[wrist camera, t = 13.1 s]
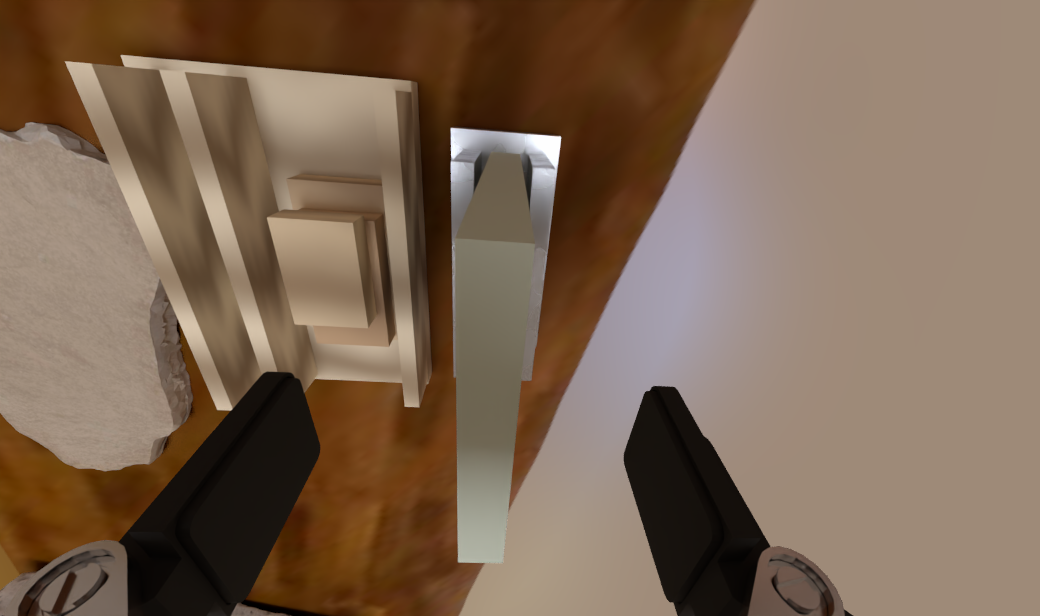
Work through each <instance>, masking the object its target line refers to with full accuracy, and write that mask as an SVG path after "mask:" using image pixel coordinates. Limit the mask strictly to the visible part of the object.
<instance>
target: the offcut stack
mask: <svg viewBox="0 0 1040 616" xmlns="http://www.w3.org/2000/svg"><path fill="white" fill-rule="evenodd" d="M286 181H287V185H288V190H289V194H290V199H291V203H292V208H293V210H288V209H283V210H281V211H279V212H277V213H275V214H272V215H270V216H268V217H267V220H268V224H269V228H270V232H271V236H272V239H273V243H274V247H275V251H276V255H277V259H278V262H279V266H280V270H281V274H282V278H283V282H284V285H285V289H286V293H287V297H288V301H289V305H290V308H291V312H292V316H293V320H294V324H295V325H313V328H314V333H315V337H316V341H317V343H320V344H340V345H360V346H380V347H389V346H390V344H391V342H392V340H398V335H397V325H396V315H395V305H394V296H393V286H392V276H391V266H390V257H389V247H388V237H387V227H386V217H385V208H384V198H383V188H382V180H373V179H360V178H346V177H333V176H320V175H306V174H299V175H296V176H293V177H290V178H287V179H286Z"/></svg>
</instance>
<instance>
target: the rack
mask: <svg viewBox="0 0 1040 616" xmlns="http://www.w3.org/2000/svg"><path fill="white" fill-rule="evenodd" d="M121 58H122V61H123V63H124V66H125V67H121V66H110V65H100V64H89V63H78V62H66V61H65V63H66V65H67V67H68V70H69V72H70V74H71V76H72V79H73V81H74V83H75V86H76V88H77V90H78V92H79V95H80V97H81V99H82V102H83V104H84V106H85V108H86V111H87V113H88V115H89V118H90V120H91V122H92V124H93V127H94V129H95V131H96V134H97V136H98V138H99V140H100V143H101V145H102V147H103V150H104V152H105V154H106V156H107V159H108V161H109V163H110V165H111V168H112V170H113V172H114V175H115V177H116V179H117V181H118V184H119V186H120V188H121V191H122V193H123V195H124V197H125V200H126V202H127V204H128V207H129V209H130V211H131V213H132V216H133V218H134V220H135V223H136V225H137V227H138V229H139V232H140V234H141V236H142V239H143V241H144V243H145V245H146V248H147V250H148V252H149V255H150V257H151V259H152V261H153V264H154V266H155V268H156V270H157V273H158V275H159V277H160V280H161V282H162V284H163V286H164V289H165V291H166V293H167V296H168V298H169V300H170V302H171V305H172V307H173V309H174V312H175V314H176V316H177V318H178V321H179V323H180V325H181V328H182V330H183V332H184V334H185V337H186V339H187V341H188V344H189V346H190V348H191V350H192V353H193V355H194V357H195V359H196V362H197V364H198V366H199V369H200V371H201V373H202V375H203V378H204V380H205V382H206V385H207V387H208V389H209V391H210V394H211V396H212V398H213V401H214V403H215V405H216V407H217V410H232V409H233V408H234V407H235V405H236V404H237V403H238V402H239V401H240V400H241V398H242V397H243V396H244V395H245V394H246V393H247V391H248V390H249V389H250V388H251V387H252V385H253V384H254V383H255V382H256V381H257V380H258V378H259V377H260V376H261V375H262V374H263V373H265V372H267V371H269V372H291V373H292V374H293V375H294V377H295V378H298V379H300V381H301V384H302V387H303V390H304V393H305V392H306V390H307V389H308V387H309V386H310V385H311V383H312V382H313V380H314V379H332V380H354V381H376V382H398V383H402V384H403V393H404V403H405V407H420V404H421V400H422V397H423V394H424V390H425V387H426V384H428V383H429V380H430V376H431V373H432V362H431V342H430V323H429V303H428V283H427V264H426V244H425V224H424V204H423V185H422V165H421V145H420V126H419V106H418V86H417V82H413V81H406V80H395V79H383V78H372V77H361V76H350V75H339V74H327V73H316V72H305V71H294V70H283V69H271V68H260V67H249V66H238V65H227V64H215V63H204V62H193V61H182V60H171V59H159V58H148V57H137V56H126V55H121ZM299 174H306V175H320V176H333V177H346V178H360V179H373V180H382V188H383V198H384V208H385V217H386V227H387V237H388V247H389V257H390V266H391V276H392V286H393V296H394V305H395V315H396V325H397V335H398V340H392V342H391V344H390V346H389V347H380V346H360V345H340V344H320V343H317V341H316V337H315V333H314V328H313V325H295V324H294V320H293V316H292V312H291V308H290V305H289V301H288V297H287V293H286V289H285V285H284V282H283V278H282V274H281V270H280V266H279V262H278V259H277V255H276V251H275V247H274V243H273V239H272V236H271V232H270V228H269V224H268V220H267V217H268V216H270V215H272V214H275V213H277V212H279V211H281V210H283V209H288V210H293V208H292V203H291V199H290V194H289V190H288V185H287V181H286V179H287V178H290V177H293V176H296V175H299Z"/></svg>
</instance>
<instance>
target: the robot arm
mask: <svg viewBox="0 0 1040 616" xmlns="http://www.w3.org/2000/svg"><path fill="white" fill-rule="evenodd" d="M319 454H320V443H319V440H318V436H317V433H316V430H315V427H314V423H313V420H312V417H311V413H310V410H309V407H308V404H307V400H306V397H305V394H304V390H303V387H302V384H301V381H300V379H298V378H295V377H294V375H293V374H292V373H291V372H269V371H267V372H265V373H263V374H262V375H261V376H260V377H259V378H258V380H257V381H256V382H255V383H254V384H253V385H252V387H251V388H250V389H249V390H248V391H247V393H246V394H245V395H244V396H243V397H242V398H241V400H240V401H239V402H238V403H237V404H236V405H235V407H234V408H233V409H232V410H231V411H230V412H229V414H228V415H227V416H226V417H225V418H224V419H223V421H222V422H221V423H220V424H219V425H218V426H217V428H216V429H215V430H214V431H213V432H212V433H211V434H210V436H209V437H208V438H207V439H206V440H205V441H204V443H203V444H202V445H201V446H200V447H199V448H198V450H197V451H196V452H195V453H194V454H193V455H192V457H191V458H190V459H189V460H188V461H187V462H186V464H185V465H184V466H183V467H182V468H181V470H180V471H179V472H178V473H177V474H176V475H175V477H174V478H173V479H172V480H171V481H170V482H169V484H168V485H167V486H166V487H165V488H164V489H163V491H162V492H161V493H160V494H159V495H158V496H157V498H156V499H155V500H154V501H153V502H152V503H151V505H150V506H149V507H148V508H147V509H146V510H145V512H144V513H143V514H142V515H141V516H140V518H139V519H138V520H137V521H136V522H135V523H134V525H133V526H132V527H131V528H130V529H129V530H128V532H127V533H126V534H125V535H124V536H123V537H122V539H121V540H120V541H119V542H117V541H107V540H104V541H98V542H93V543H89V544H86V545H83V546H81V547H78V548H76V549H73V550H71V551H69V552H67V553H66V554H64V555H62V556H60V557H58V558H56V559H55V560H53V561H52V562H50V563H49V564H48V565H46V566H45V567H44V568H42V569H41V570H39V571H38V572H37V573H35V574H34V575H33V576H32V577H31V578H30V579H29V580H28V581H27V582H26V583H25V584H24V585H23V586H22V587H21V588H20V589H19V590H18V592H17V593H16V594H15V596H14V597H13V598H12V600H11V601H10V602H9V604H8V606H7V609H6V611H5V613H4V615H3V616H231V614H232V613H233V611H234V609H235V607H236V605H237V603H241V602H242V601H244V600H245V599H246V597H247V596H248V594H249V593H250V591H251V589H252V587H253V585H254V583H255V581H256V579H257V577H258V575H259V573H260V571H261V569H262V567H263V565H264V564H265V562H266V560H267V558H268V556H269V554H270V552H271V550H272V548H273V546H274V544H275V542H276V540H277V538H278V536H279V534H280V532H281V530H282V528H283V526H284V524H285V522H286V520H287V518H288V516H289V514H290V512H291V511H292V509H293V507H294V505H295V503H296V501H297V499H298V497H299V495H300V493H301V491H302V489H303V487H304V485H305V483H306V481H307V479H308V477H309V475H310V473H311V471H312V469H313V467H314V465H315V463H316V461H317V459H318V457H319ZM624 465H625V468H626V472H627V475H628V478H629V481H630V484H631V488H632V491H633V494H634V497H635V501H636V504H637V507H638V510H639V513H640V517H641V520H642V523H643V526H644V530H645V533H646V536H647V539H648V543H649V546H650V549H651V552H652V555H653V559H654V562H655V565H656V568H657V572H658V575H659V578H660V581H661V585H662V588H663V591H664V594H665V596H666V598H667V600H668V601H669V602H673V603H674V605H675V609H676V612H677V615H678V616H853V615H851V614H850V613H848V612H847V611H846V610H844V608H843V602H842V600H841V598H840V596H839V594H838V591H837V589H836V588H835V586H834V585H833V584H832V582H831V581H830V579H829V578H828V577H827V575H825V573H824V572H823V571H822V570H821V569H820V568H819V567H818V566H817V565H816V564H814V563H813V562H812V561H810V560H809V559H808V558H806V557H805V556H804V555H802V554H800V553H797V552H796V551H794V550H792V549H788V548H784V547H780V546H777V547H770V545H769V543H768V541H767V540H766V538H765V536H764V535H763V533H762V531H761V529H760V528H759V526H758V524H757V522H756V521H755V519H754V517H753V515H752V514H751V512H750V510H749V508H748V507H747V505H746V503H745V502H744V500H743V498H742V496H741V494H740V493H739V491H738V489H737V487H736V486H735V484H734V482H733V480H732V479H731V477H730V475H729V474H728V472H727V470H726V468H725V466H724V465H723V463H722V461H721V459H720V458H719V456H718V454H717V452H716V451H715V449H714V447H713V445H712V444H711V443H710V441H709V440H708V439H707V438H705V437H704V436H703V435H702V433H701V431H700V429H699V427H698V426H697V424H696V422H695V420H694V419H693V417H692V415H691V413H690V411H689V410H688V408H687V406H686V405H685V403H684V401H683V399H682V397H681V395H680V394H679V392H678V390H677V389H676V388H675V387H665V386H663V387H662V386H653V387H652V388H651V390H650V391H646V392H645V394H644V396H643V399H642V402H641V405H640V408H639V411H638V414H637V417H636V420H635V423H634V426H633V428H632V431H631V434H630V437H629V440H628V443H627V446H626V449H625V452H624Z"/></svg>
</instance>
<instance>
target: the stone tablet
mask: <svg viewBox="0 0 1040 616" xmlns="http://www.w3.org/2000/svg"><path fill="white" fill-rule="evenodd" d="M177 320H178V318H177V316H176V314H175V312H174V309H173V307H172V305H171V302H170V300H169V298H168V296H167V293H166V291H165V289H164V286H163V284H162V282H161V280H160V277H159V275H158V273H157V270H156V268H155V266H154V264H153V261H152V259H151V257H150V255H149V252H148V250H147V248H146V245H145V243H144V241H143V239H142V236H141V234H140V232H139V229H138V227H137V225H136V223H135V220H134V218H133V216H132V213H131V211H130V209H129V207H128V204H127V202H126V200H125V197H124V195H123V193H122V191H121V188H120V186H119V184H118V181H117V179H116V177H115V175H114V172H113V170H112V168H111V165H110V163H109V161H108V159H107V156H106V154H102V153H101V152H100V151H99V150H97V149H96V148H95V147H94V146H93V145H91V144H90V143H89V142H87V141H86V140H84V139H83V138H81V137H79V136H78V135H76V134H74V133H73V132H71V131H69V130H67V129H64V128H62V127H60V126H58V125H50V124H39V123H33V122H31V123H26V124H25V127H24V128H22V129H20V130H18V131H17V132H6V131H3V130H1V129H0V413H1V414H2V415H3V417H4V418H5V419H6V420H7V421H8V422H9V423H10V424H11V425H12V426H13V427H14V428H15V429H16V430H17V431H18V432H20V433H21V434H24V435H26V436H28V437H29V438H31V439H33V440H35V441H37V442H38V443H40V444H41V445H43V446H44V447H46V448H48V449H49V450H50V451H51V452H53V453H54V454H55V455H56V456H57V457H58V458H59V459H60V460H61V461H63V462H64V463H66V464H68V465H71V466H74V467H76V468H78V469H81V468H95V469H96V470H103V471H109V470H120V469H122V468H124V467H126V466H131V465H133V464H150V463H152V462H153V461H155V460H156V459H157V457H159V456H160V455H161V453H162V452H163V448H164V444H165V442H166V439H167V437H168V436H169V435H170V434H171V433H172V432H173V431H174V430H176V429H177V428H178V427H179V426H180V425H182V424H183V423H184V422H185V421H186V420H187V418H188V417H189V413H190V410H191V402H192V399H193V395H192V393H191V387H190V380H189V374H188V373H187V371H186V370H185V367H186V365H185V363H184V362H183V358H182V353H181V351H180V348H181V346H182V345H181V344H180V342H179V340H180V337H179V333H178V332H177Z"/></svg>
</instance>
